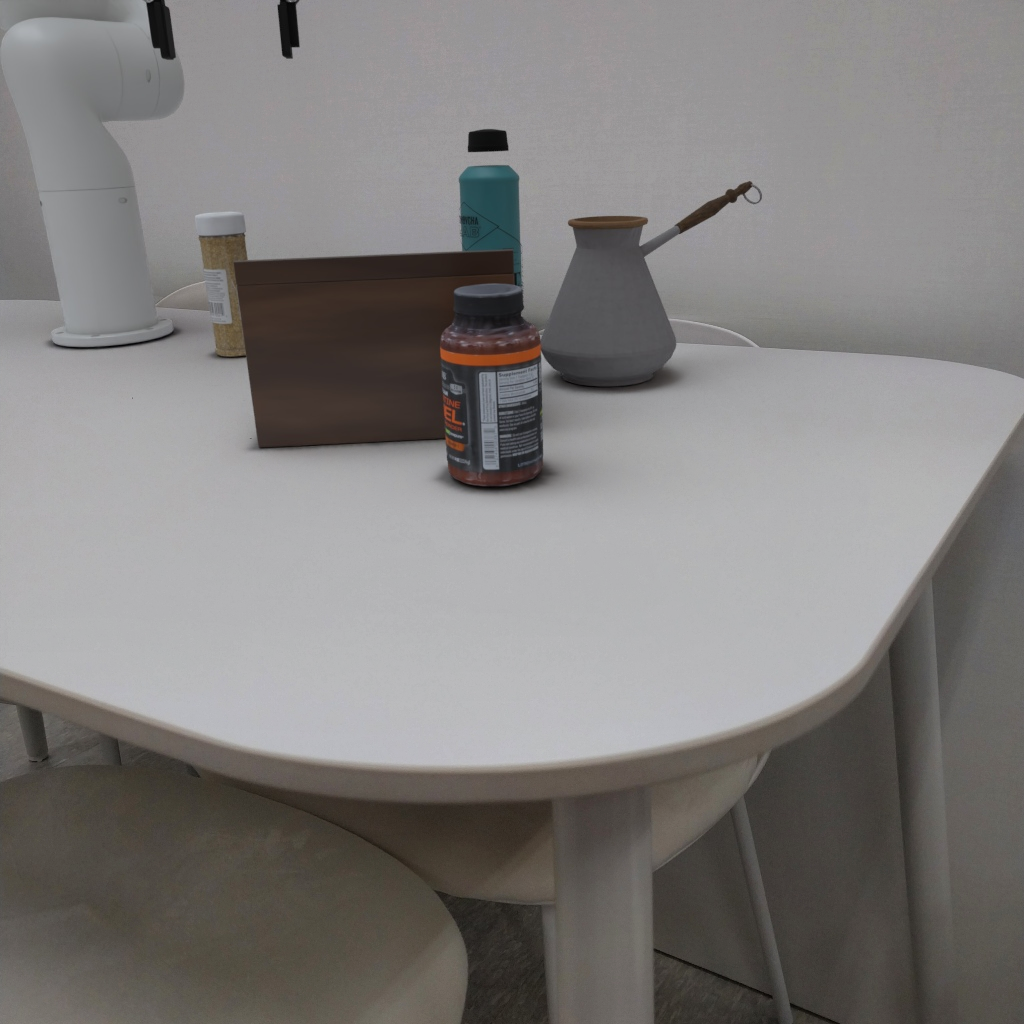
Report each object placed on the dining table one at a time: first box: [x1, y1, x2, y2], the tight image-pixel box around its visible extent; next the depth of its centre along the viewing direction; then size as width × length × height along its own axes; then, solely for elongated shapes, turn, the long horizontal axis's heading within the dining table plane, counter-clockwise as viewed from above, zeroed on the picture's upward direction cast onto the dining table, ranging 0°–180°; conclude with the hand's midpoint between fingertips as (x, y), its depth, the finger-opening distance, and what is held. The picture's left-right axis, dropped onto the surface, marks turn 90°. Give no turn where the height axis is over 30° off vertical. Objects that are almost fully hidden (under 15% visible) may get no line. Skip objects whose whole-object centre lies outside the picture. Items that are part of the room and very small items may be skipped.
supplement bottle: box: [440, 284, 544, 488], centre depth 58 cm, size 6×6×11 cm
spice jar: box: [194, 211, 249, 358], centre depth 94 cm, size 5×5×13 cm
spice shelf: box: [233, 249, 514, 448], centre depth 72 cm, size 16×18×12 cm
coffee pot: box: [540, 180, 763, 387], centre depth 82 cm, size 21×12×15 cm, turn 119°
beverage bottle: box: [458, 128, 525, 303], centre depth 101 cm, size 6×7×20 cm
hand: (228, 58), depth 80 cm, fingers open, 9 cm apart
